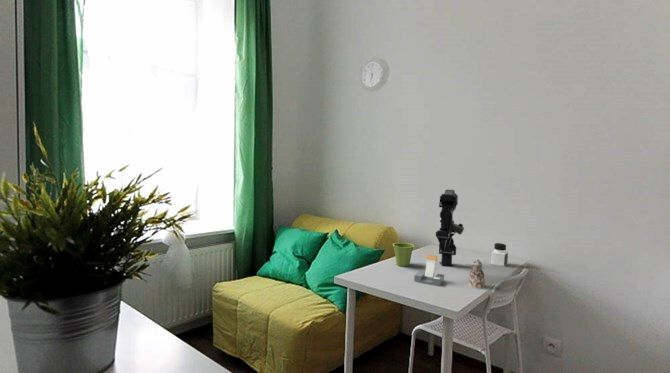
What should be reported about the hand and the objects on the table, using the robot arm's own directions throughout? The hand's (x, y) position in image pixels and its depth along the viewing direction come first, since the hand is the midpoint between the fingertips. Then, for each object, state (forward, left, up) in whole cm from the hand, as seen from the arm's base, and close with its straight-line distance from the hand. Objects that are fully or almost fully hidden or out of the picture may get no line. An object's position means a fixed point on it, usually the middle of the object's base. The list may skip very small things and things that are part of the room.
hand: (445, 248), depth 192 cm
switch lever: (+13, -11, -10) cm, 20 cm away
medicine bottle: (-19, +37, -13) cm, 44 cm away
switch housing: (+13, -11, -13) cm, 21 cm away
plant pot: (-14, -19, -13) cm, 27 cm away
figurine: (+18, +10, -13) cm, 24 cm away
